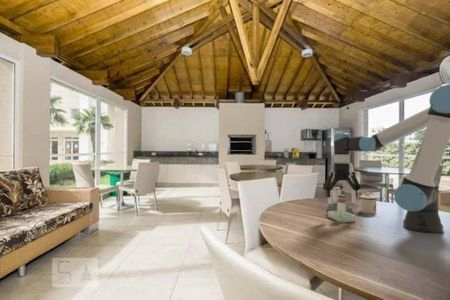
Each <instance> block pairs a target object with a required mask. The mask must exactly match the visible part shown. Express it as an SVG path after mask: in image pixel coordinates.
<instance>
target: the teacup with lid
mask: <svg viewBox="0 0 450 300" xmlns="http://www.w3.org/2000/svg"><path fill="white" fill-rule="evenodd" d="M359 212H360V213H363V214H367V215H374V214H377V196H374V195H372V194H371V192H368V191H366V192H365V193H364V194H362V195H359Z"/></svg>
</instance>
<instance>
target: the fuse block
mask: <svg viewBox="0 0 450 300" xmlns="http://www.w3.org/2000/svg"><path fill="white" fill-rule="evenodd" d="M326 209H327V211H337V205H333V202H332V204H329V203H328V206H327V208H326ZM346 212H347V213H350V214H353V215H355V211H354V210H353V207H351V206H348V205H346Z"/></svg>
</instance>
